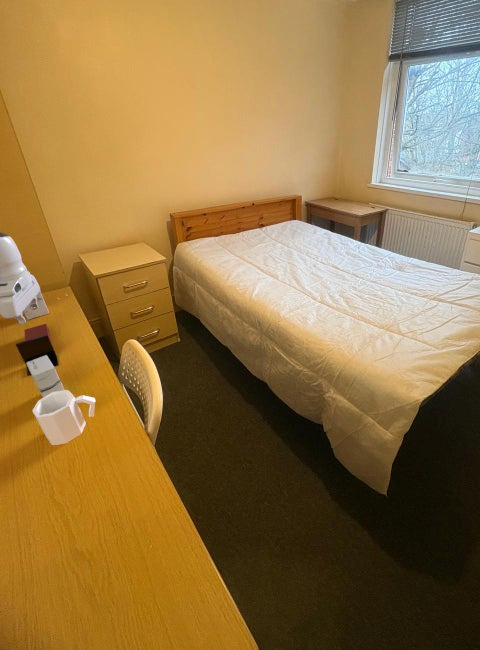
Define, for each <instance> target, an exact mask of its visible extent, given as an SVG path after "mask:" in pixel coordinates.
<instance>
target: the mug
mask: <svg viewBox="0 0 480 650" xmlns="http://www.w3.org/2000/svg"><path fill="white" fill-rule="evenodd" d="M81 403H84V404H86V405H89V408H88V417H89V418H94V417H95V411H96V397H92V396H89V395H83V394H82V395H79V396H77V397H75V395H74V394H73V393H72V392H71V391H70V390H69V389H64V391H56V392H52V393H50V394H49V395H47V396H45V397H44V398H43V397H42V398H40V399H39V400H38V401H37V402H36V404H35V406H34V407H33V408H32V410H31V411H32V413H33V415H34V417H35V419H36V421H37V423H38V425H39V426H40V428H41V430H42V432H43V434H44V436H45V438H46V439H47V441H48V442H49V444H51V446H58V445H64V444H65V445H66V444H68V443H70V441H72V440H74V439H75V438H77V437H79V436H80V435H82V433H83V431H84V429H85V427H86V425H87V423H86V419H85V418H84V415H83V412H82V410H81V409H80V407H79V404H81Z"/></svg>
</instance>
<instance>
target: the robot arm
mask: <svg viewBox="0 0 480 650" xmlns="http://www.w3.org/2000/svg"><path fill="white" fill-rule="evenodd" d="M22 260H23V259H22V255H21V252H20V250H19V248H18V246H17V244H16V242H15V241H14V239H13V238H12V237H11V236H10V235H9V234H6V233H4V232H0V316H1V317H2V319H5V320H9V319H10V320H11V319H15V320H17V322H18V324H19V325H25V324H26V323H27V322H28V320H27V318H26V316H24V309H25V308H26V307H27V306H28V305H29V303H30V308H31V310H36V309H37V308H38V305H37V297H36V295H37V294H38V293H39V292H40V291H41V286H40V285H39V283H38V281H37V279H36V277H35V276H34V274H31V272H30V271H29V270H28V269H27V266H26V265H25V264H24V263H23V261H22Z"/></svg>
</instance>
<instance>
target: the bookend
mask: <svg viewBox="0 0 480 650" xmlns="http://www.w3.org/2000/svg"><path fill="white" fill-rule="evenodd" d="M15 347H16V348H17V351H18V352H19V355H20V357H21V359H22V361H23V363H24V364H25V366H26V375H27V377H29V376H32V375H31V373H30V370H29V368H28V366H27V364H26V363H27V362H29V361H32V360H34V359H37V358H40V357H42V356H45V355H47V356H48V358H49V360H50V361H51V363H52V364H53V366H54V368H56V367H58V366H60V363H59V360H58V356H57V353H56V350H55V348H54V345H53V344H52V340H51V341H50V339H49V337H48V335H44V336H41V337H37V338H34V339H31V340H27V341H25V340H24V341H20V342H18V343H15Z"/></svg>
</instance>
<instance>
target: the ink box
mask: <svg viewBox="0 0 480 650" xmlns="http://www.w3.org/2000/svg"><path fill="white" fill-rule="evenodd" d="M26 364H27V366H28V368H29V370H30V373H31V375H30V376H31V377H32V379H33V381H34V383H35V385H36V387H37V389H38V391H39V394H40V395H41V396H42V398H44V397H45V396H47V395H49V394H50V393H52V392H56V391H64V390H65V388H64V385H63V383H62V381H61V379H60V377H59V375H58V372H57V370H56V367H54V366H53V364H52V363H51V361H50V360H49V358H48V356H47V355H45V356H42V357H40V358H37V359H34V360H32V361H29V362H27V363H26ZM26 364H25V365H26ZM27 366H26V367H27Z"/></svg>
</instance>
